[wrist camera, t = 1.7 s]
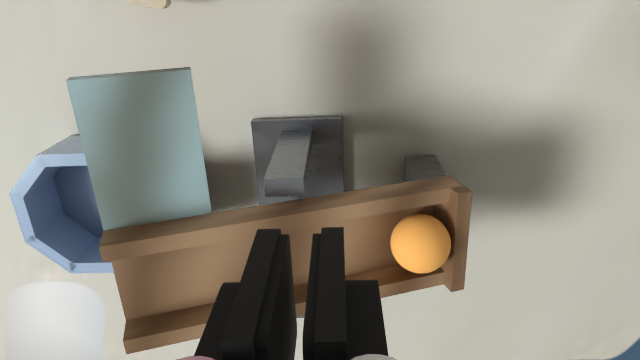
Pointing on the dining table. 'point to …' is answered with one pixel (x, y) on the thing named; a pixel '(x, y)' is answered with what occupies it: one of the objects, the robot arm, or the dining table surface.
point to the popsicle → (151, 3)
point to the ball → (420, 243)
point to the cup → (61, 208)
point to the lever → (228, 226)
